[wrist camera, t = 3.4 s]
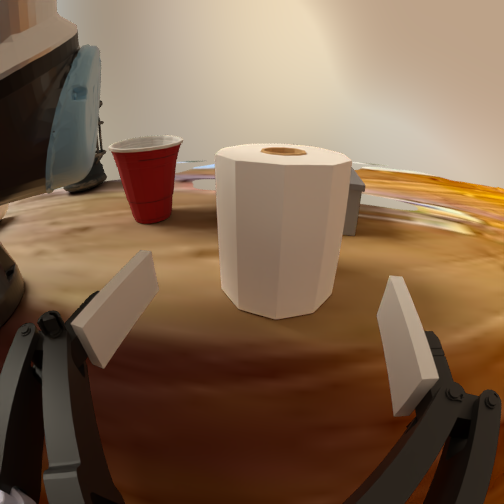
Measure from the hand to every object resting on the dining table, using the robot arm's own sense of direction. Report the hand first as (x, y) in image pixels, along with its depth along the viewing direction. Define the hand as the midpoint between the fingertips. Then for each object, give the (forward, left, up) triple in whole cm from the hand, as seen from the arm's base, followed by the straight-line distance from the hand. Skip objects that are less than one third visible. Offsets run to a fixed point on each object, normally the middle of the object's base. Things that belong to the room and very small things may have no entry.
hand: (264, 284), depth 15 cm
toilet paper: (0, +10, -7) cm, 12 cm away
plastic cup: (-20, +22, -7) cm, 31 cm away
